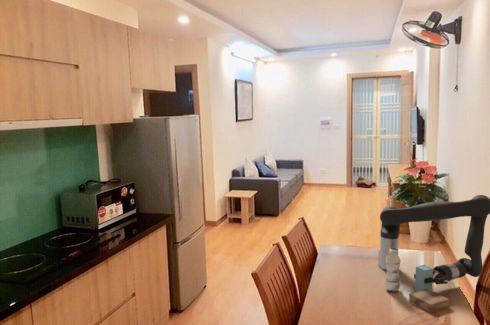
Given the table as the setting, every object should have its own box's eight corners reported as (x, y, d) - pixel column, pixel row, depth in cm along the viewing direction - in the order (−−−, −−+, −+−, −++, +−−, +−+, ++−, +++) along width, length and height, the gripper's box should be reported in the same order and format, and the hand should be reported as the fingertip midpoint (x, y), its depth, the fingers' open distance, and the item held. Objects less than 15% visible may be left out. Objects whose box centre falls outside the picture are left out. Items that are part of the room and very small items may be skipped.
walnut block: (409, 302, 165) (409, 293, 165) (426, 297, 170) (427, 289, 170) (430, 313, 156) (431, 304, 155) (448, 308, 160) (449, 299, 160)
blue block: (414, 291, 175) (415, 266, 174) (422, 289, 177) (423, 264, 176) (423, 295, 171) (424, 270, 169) (431, 293, 172) (432, 268, 171)
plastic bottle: (390, 294, 173) (392, 251, 171) (381, 288, 179) (383, 247, 177) (402, 292, 174) (404, 250, 172) (393, 286, 181) (394, 246, 179)
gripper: (433, 260, 185) (407, 265, 178) (460, 270, 172) (433, 276, 165) (432, 274, 186) (406, 280, 179) (459, 286, 172) (432, 293, 166)
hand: (419, 278), depth 172 cm, fingers closed on blue block, 5 cm apart
